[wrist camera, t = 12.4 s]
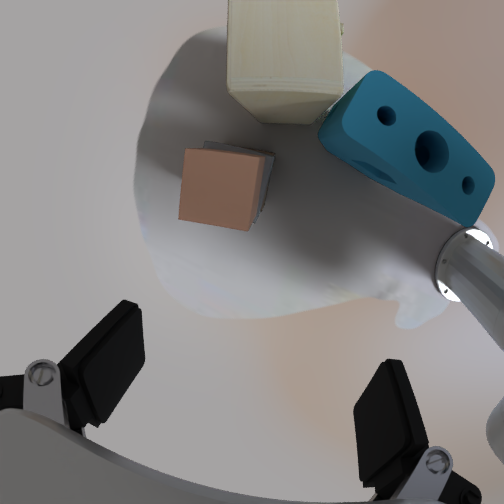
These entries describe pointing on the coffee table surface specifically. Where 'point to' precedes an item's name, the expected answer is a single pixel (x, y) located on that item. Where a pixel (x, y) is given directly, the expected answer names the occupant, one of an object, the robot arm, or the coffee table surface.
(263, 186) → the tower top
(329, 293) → the coffee table surface
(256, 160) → the terracotta cube
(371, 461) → the robot arm
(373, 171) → the block
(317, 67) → the cream box
